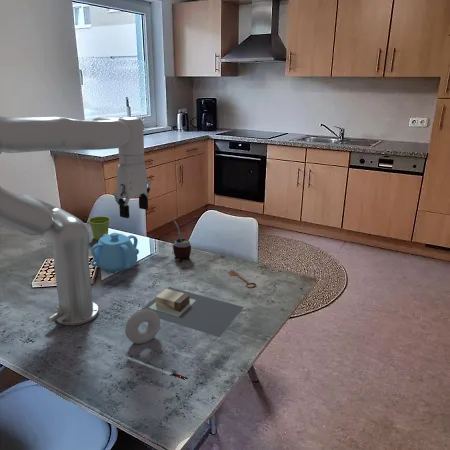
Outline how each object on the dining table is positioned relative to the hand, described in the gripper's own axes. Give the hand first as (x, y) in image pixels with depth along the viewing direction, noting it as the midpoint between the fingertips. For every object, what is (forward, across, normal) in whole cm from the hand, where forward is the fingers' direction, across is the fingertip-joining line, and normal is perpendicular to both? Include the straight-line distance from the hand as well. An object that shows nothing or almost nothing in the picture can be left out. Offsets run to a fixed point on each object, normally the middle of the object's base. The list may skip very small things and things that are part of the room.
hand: (134, 213), depth 129 cm
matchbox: (+29, +30, +34) cm, 54 cm away
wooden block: (+28, +2, +15) cm, 32 cm away
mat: (+28, +2, +22) cm, 36 cm away
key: (+29, -25, +27) cm, 47 cm away
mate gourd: (+28, -30, -1) cm, 41 cm away
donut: (+28, +22, +18) cm, 40 cm away
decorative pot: (+29, -12, -19) cm, 36 cm away
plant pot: (+28, -32, -44) cm, 61 cm away
